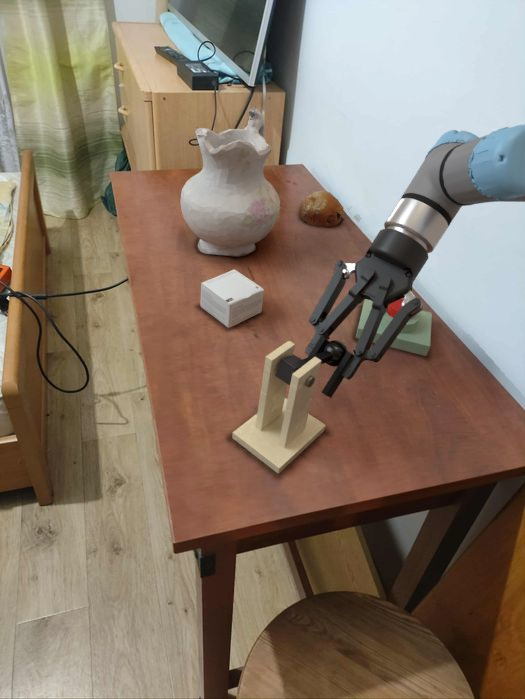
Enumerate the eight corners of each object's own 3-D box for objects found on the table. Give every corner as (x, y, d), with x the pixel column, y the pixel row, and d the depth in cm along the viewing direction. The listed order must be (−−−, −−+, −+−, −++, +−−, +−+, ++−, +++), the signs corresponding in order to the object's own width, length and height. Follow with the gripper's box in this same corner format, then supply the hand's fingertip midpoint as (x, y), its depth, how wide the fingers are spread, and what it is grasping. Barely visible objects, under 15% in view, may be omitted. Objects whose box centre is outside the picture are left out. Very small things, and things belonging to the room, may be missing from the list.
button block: (428, 322, 92) (435, 304, 89) (426, 356, 85) (434, 338, 82) (362, 306, 94) (367, 288, 91) (355, 338, 86) (360, 319, 84)
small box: (233, 292, 93) (235, 267, 90) (262, 313, 89) (265, 288, 86) (199, 306, 88) (199, 281, 85) (228, 329, 84) (230, 304, 81)
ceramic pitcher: (202, 215, 117) (195, 98, 101) (286, 224, 114) (293, 105, 98) (172, 263, 100) (158, 131, 84) (269, 275, 98) (274, 141, 82)
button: (410, 310, 88) (413, 302, 87) (409, 323, 85) (412, 315, 84) (387, 304, 89) (390, 296, 87) (385, 317, 86) (388, 309, 84)
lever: (325, 355, 73) (335, 333, 71) (346, 368, 71) (356, 346, 69) (268, 377, 61) (278, 351, 60) (292, 392, 60) (302, 366, 58)
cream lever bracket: (279, 400, 73) (293, 325, 64) (324, 431, 70) (345, 356, 61) (231, 438, 67) (239, 360, 58) (278, 474, 64) (294, 397, 55)
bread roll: (317, 220, 127) (310, 188, 123) (354, 217, 120) (347, 182, 117) (296, 233, 120) (288, 200, 117) (333, 230, 114) (326, 195, 110)
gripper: (463, 277, 69) (370, 423, 69) (360, 230, 76) (276, 362, 77) (461, 255, 62) (358, 417, 63) (348, 206, 70) (257, 351, 70)
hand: (313, 386), depth 70 cm, fingers closed on lever, 4 cm apart
